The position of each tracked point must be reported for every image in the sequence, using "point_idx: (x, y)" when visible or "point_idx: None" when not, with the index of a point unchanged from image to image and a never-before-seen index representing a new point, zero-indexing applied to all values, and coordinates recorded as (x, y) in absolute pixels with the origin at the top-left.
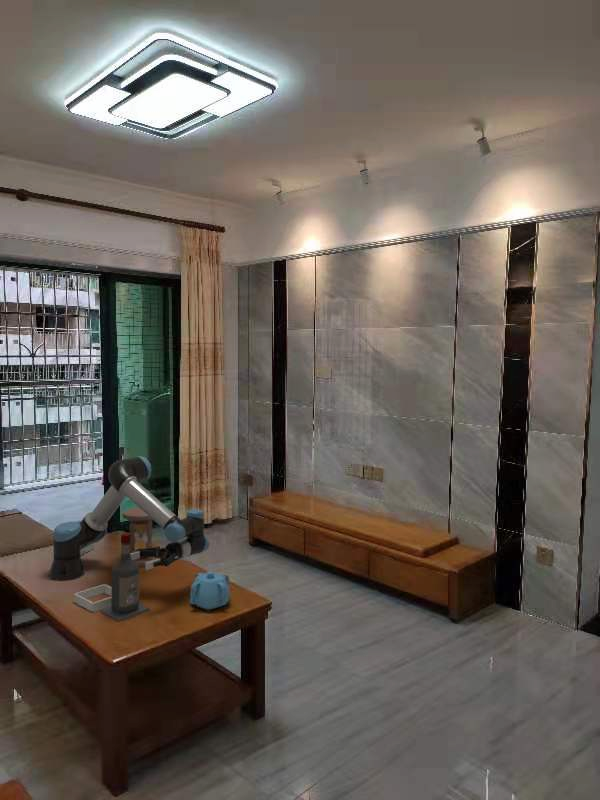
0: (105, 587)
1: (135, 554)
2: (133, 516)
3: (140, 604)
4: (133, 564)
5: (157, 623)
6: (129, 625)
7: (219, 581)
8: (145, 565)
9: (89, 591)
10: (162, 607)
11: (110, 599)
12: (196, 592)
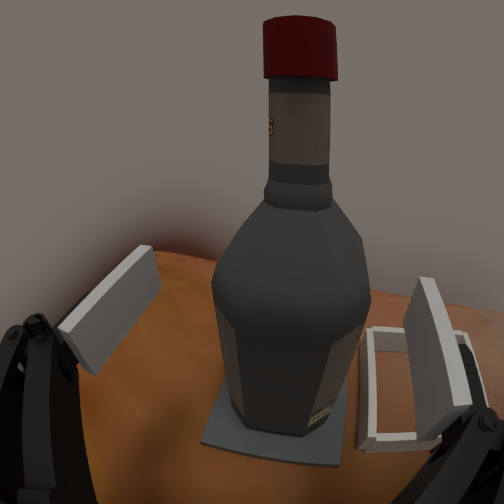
0: None
1: (435, 364)
2: None
3: (256, 448)
4: (236, 237)
5: (125, 373)
6: (197, 339)
7: None
8: (153, 262)
9: None
10: (168, 480)
11: (367, 384)
12: None
